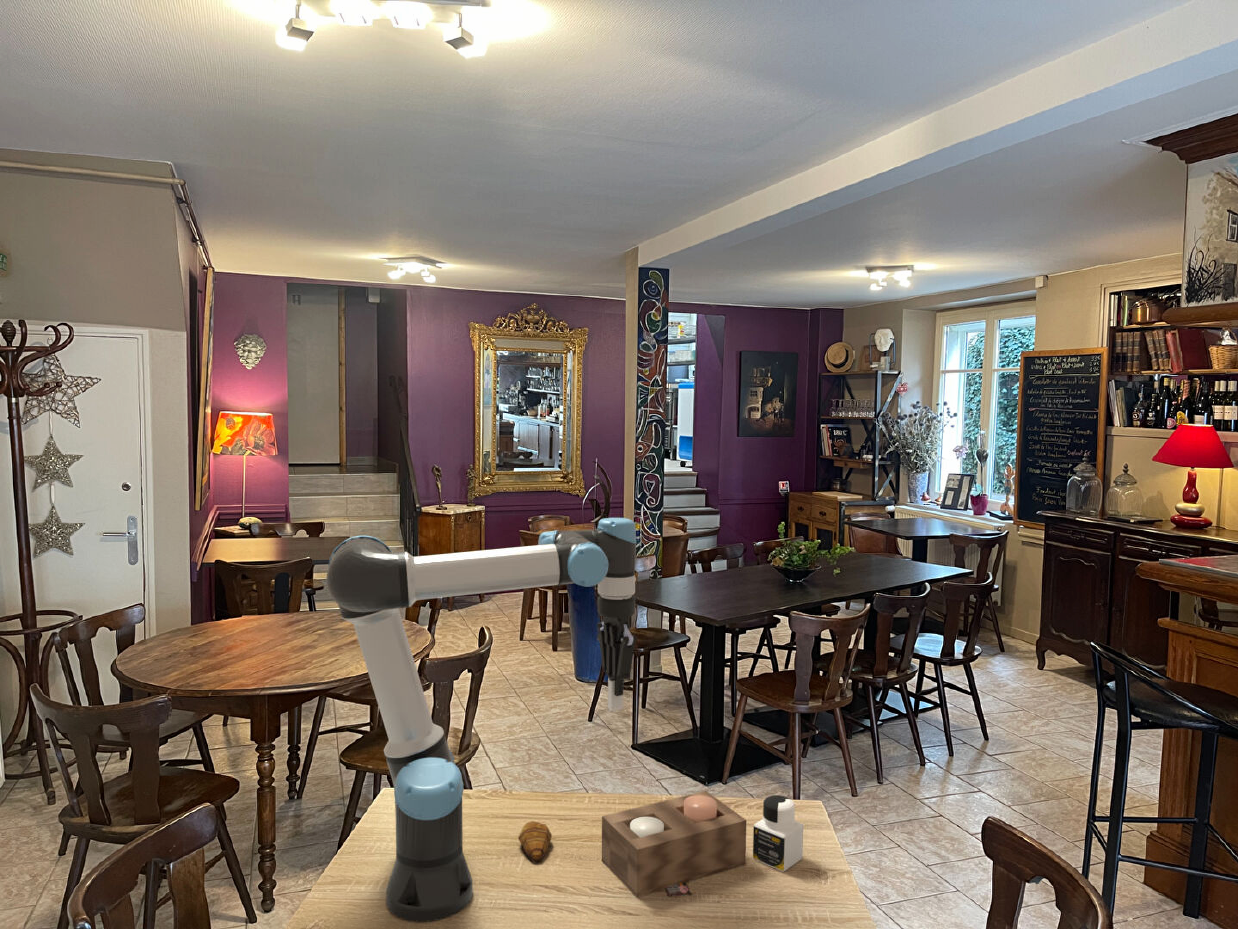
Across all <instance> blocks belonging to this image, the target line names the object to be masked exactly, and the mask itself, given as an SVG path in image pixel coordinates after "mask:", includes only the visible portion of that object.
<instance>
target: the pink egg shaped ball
mask: <svg viewBox="0 0 1238 929" xmlns="http://www.w3.org/2000/svg"><path fill="white" fill-rule="evenodd" d="M684 815H685V816H687V817H688V818H689V819H690V820H692V821H693V822H694V823H697V822H701V821H705V820H709V819H713V818H716V817H717V802H716V801H715V800H714V799H713V798H710V797H708V796H702V795H695V796H690V797H688V798H686V799H685V800H684Z"/></svg>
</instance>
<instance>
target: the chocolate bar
mask: <svg viewBox="0 0 1238 929" xmlns="http://www.w3.org/2000/svg"><path fill="white" fill-rule="evenodd" d="M664 890H665V892H666V896H667V897H668V898H671V897H678V896H680V897H681V896H693V893H692V892H691V890H690V888H689V886H688V885H687V883H685V882H683V883H679V884H676V885H673V886H669V887H667V888H666V889H664Z"/></svg>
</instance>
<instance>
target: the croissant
mask: <svg viewBox="0 0 1238 929" xmlns="http://www.w3.org/2000/svg"><path fill="white" fill-rule="evenodd" d="M552 836H553V835H552V832H551V831H550V829H549V827H548V826H547V824H546V823H541V822H539V821H536V820H535V821H534V820H532V821H528V822H526V823H525V824H524V825H523V827H522V828H521V831H520V832H519V835H518V837H517V839H518V841H519V842H520V844H521V845H522V848H523V850H524V852H525V854H526V856H527V857H528V858H529V859H530V860H531V862H535V863H538V862H541V861H542V859H543V858H544V856H545V853H546V852H547V849H548V848H549V844H550V842H551V841H552Z"/></svg>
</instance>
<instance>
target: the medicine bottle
mask: <svg viewBox="0 0 1238 929" xmlns="http://www.w3.org/2000/svg"><path fill="white" fill-rule="evenodd" d="M795 806H796V804H795V802H794V800H792V799H791V798H789V797H787V796H784V795H779V794H777V795H776V794H775V795H769V796H767V797H766V798H765V799H764V800H763V808H762V819H760V820H759V821H757V822H755V823H754V824H753V830H752V831H753V834H752V835H753V836H752V838H753V840H752V859H753V860H755V861H756V862H759V863H761V864H764V865H766V866H769V867H771V868H773V869H775V870H777V871H780V872H782V873H784V872H785V871H787V870H788V869H790V868H791V867H793V866H794V865H795V864H797V863H798V862H799V861H800V860H802V859H803V858H804V857H803V856H804V849H803V848H804V823H802V822H799V821H797V820H795V815H796V814H795V811H796V807H795Z"/></svg>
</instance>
